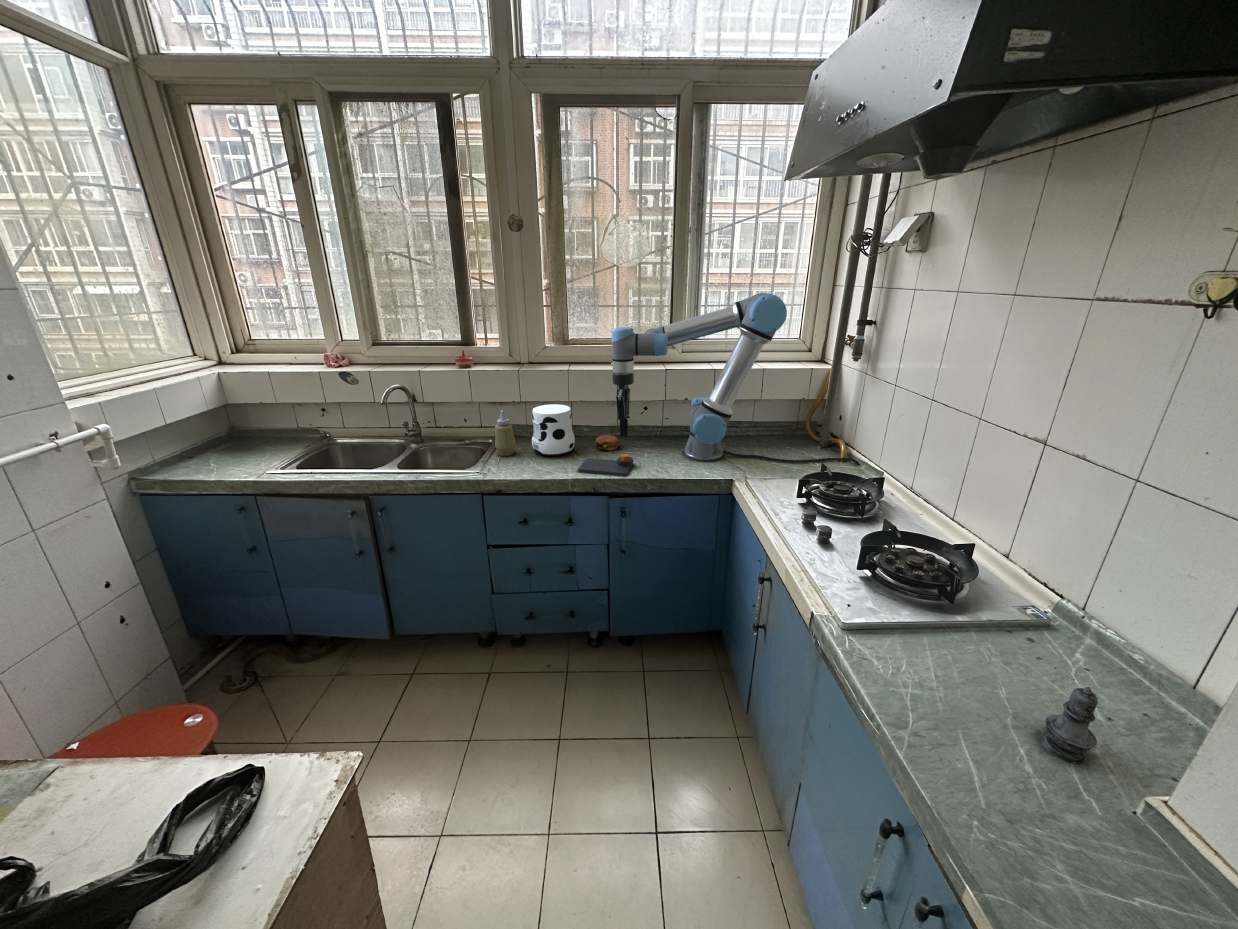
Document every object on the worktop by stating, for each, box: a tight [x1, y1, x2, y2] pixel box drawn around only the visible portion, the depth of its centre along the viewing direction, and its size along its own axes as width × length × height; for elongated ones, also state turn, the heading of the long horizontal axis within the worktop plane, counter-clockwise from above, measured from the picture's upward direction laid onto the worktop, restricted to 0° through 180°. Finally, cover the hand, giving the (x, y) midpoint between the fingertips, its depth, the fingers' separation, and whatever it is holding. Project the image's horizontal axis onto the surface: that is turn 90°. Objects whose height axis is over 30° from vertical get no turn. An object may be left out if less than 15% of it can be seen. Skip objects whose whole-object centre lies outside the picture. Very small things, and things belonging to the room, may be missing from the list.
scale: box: [577, 456, 634, 477], centre depth 186 cm, size 18×12×3 cm
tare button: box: [620, 453, 630, 461], centre depth 187 cm, size 3×3×2 cm
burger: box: [595, 434, 620, 451], centre depth 208 cm, size 10×9×5 cm
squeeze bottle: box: [494, 410, 516, 457], centre depth 199 cm, size 8×8×18 cm
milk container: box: [531, 403, 576, 457], centre depth 201 cm, size 17×17×18 cm
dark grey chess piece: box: [1040, 686, 1099, 765], centre depth 74 cm, size 6×6×12 cm
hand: (624, 435), depth 185 cm, fingers closed
